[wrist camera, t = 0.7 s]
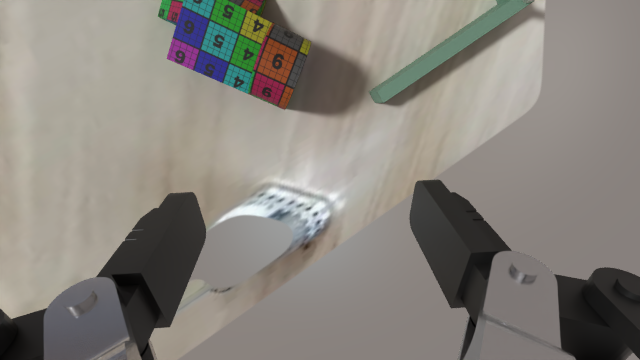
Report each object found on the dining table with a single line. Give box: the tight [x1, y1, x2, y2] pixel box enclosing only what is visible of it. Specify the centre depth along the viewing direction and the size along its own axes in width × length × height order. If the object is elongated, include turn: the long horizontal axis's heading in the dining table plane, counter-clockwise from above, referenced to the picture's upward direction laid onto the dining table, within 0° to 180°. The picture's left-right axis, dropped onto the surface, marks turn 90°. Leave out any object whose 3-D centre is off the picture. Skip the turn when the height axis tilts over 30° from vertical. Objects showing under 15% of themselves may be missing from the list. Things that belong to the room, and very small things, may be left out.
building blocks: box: [158, 0, 311, 110], centre depth 27 cm, size 15×10×8 cm
